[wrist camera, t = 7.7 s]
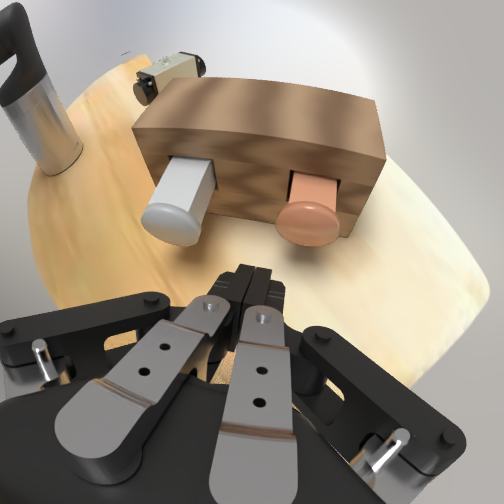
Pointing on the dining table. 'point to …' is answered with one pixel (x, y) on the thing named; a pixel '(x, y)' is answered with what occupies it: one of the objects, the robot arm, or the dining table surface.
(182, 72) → the pneumatic valve
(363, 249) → the dining table surface
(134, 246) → the dining table surface
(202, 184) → the grey plug
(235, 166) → the socket block
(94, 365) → the robot arm
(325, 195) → the terracotta plug
